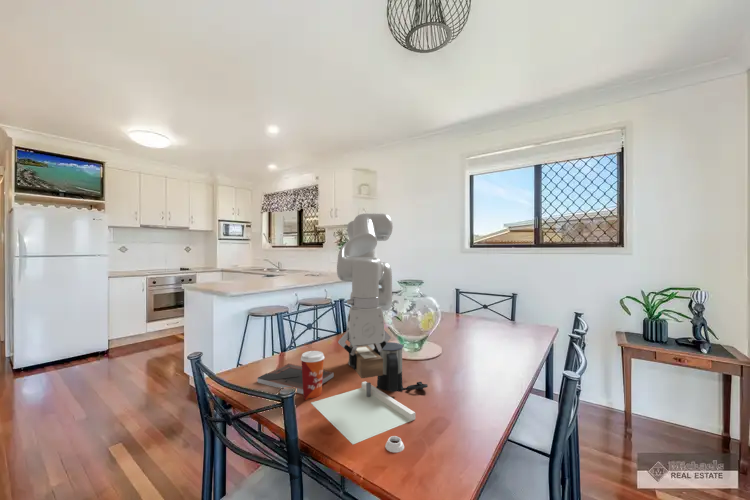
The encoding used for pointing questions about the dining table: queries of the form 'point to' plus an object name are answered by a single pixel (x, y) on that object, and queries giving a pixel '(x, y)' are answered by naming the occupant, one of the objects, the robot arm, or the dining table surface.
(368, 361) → the brown rectangular box
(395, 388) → the milk frother
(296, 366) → the picture frame
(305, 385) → the paper cup
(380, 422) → the wall board
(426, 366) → the dining table surface
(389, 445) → the white flanged bushing
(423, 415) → the dining table surface
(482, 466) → the dining table surface
